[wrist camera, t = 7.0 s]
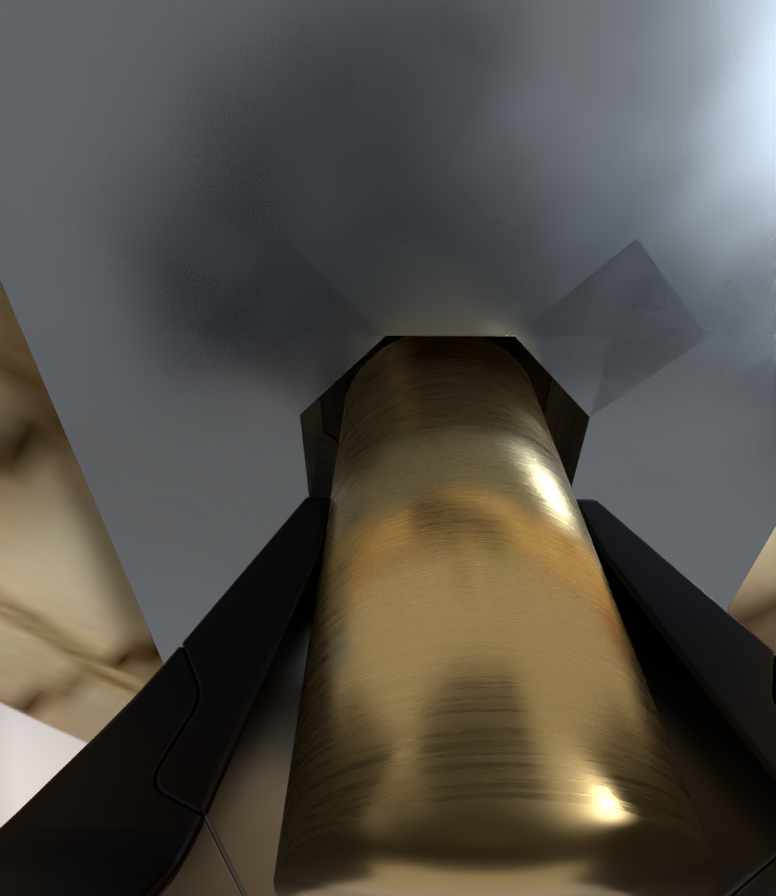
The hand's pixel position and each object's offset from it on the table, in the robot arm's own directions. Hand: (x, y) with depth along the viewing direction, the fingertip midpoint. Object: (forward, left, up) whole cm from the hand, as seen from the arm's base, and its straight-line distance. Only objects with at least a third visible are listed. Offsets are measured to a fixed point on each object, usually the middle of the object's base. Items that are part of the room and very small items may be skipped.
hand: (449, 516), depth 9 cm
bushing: (0, 0, -3) cm, 3 cm away
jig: (0, +4, -4) cm, 6 cm away
